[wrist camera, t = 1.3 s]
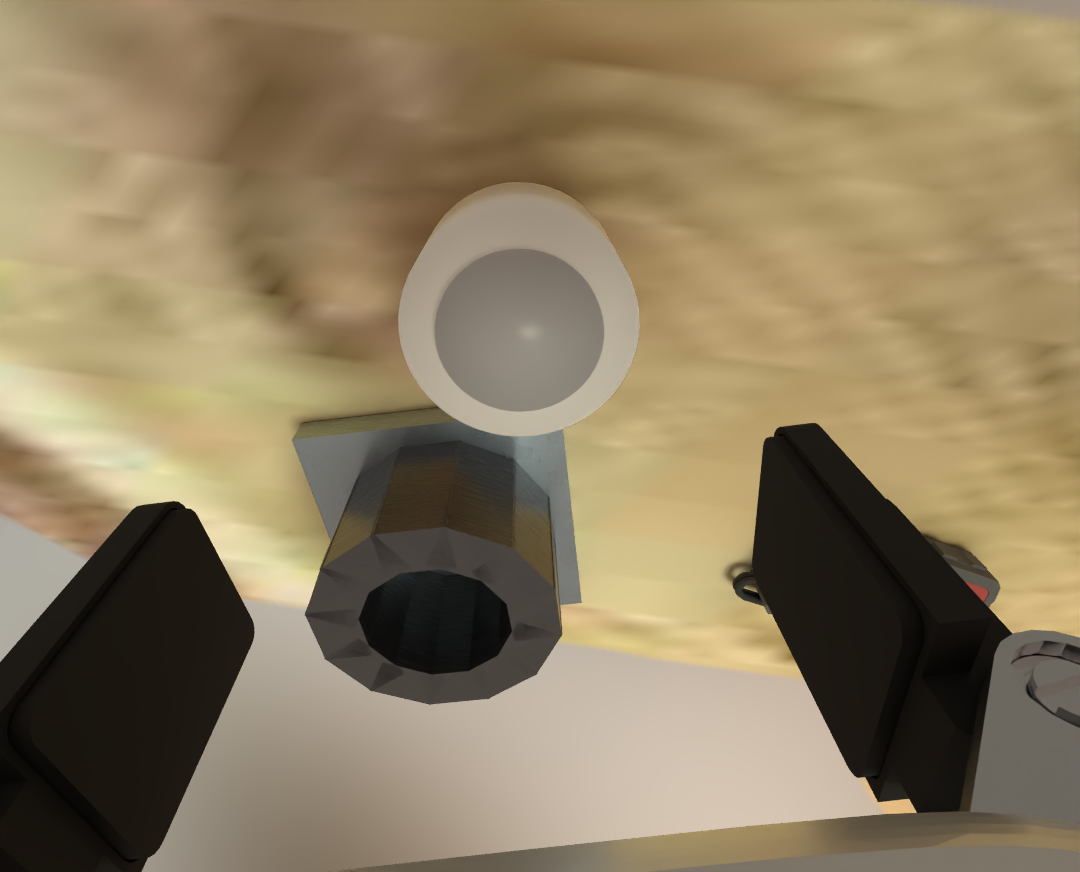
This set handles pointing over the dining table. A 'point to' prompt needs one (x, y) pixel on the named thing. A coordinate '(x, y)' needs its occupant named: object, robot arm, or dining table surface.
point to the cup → (518, 312)
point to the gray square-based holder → (438, 552)
